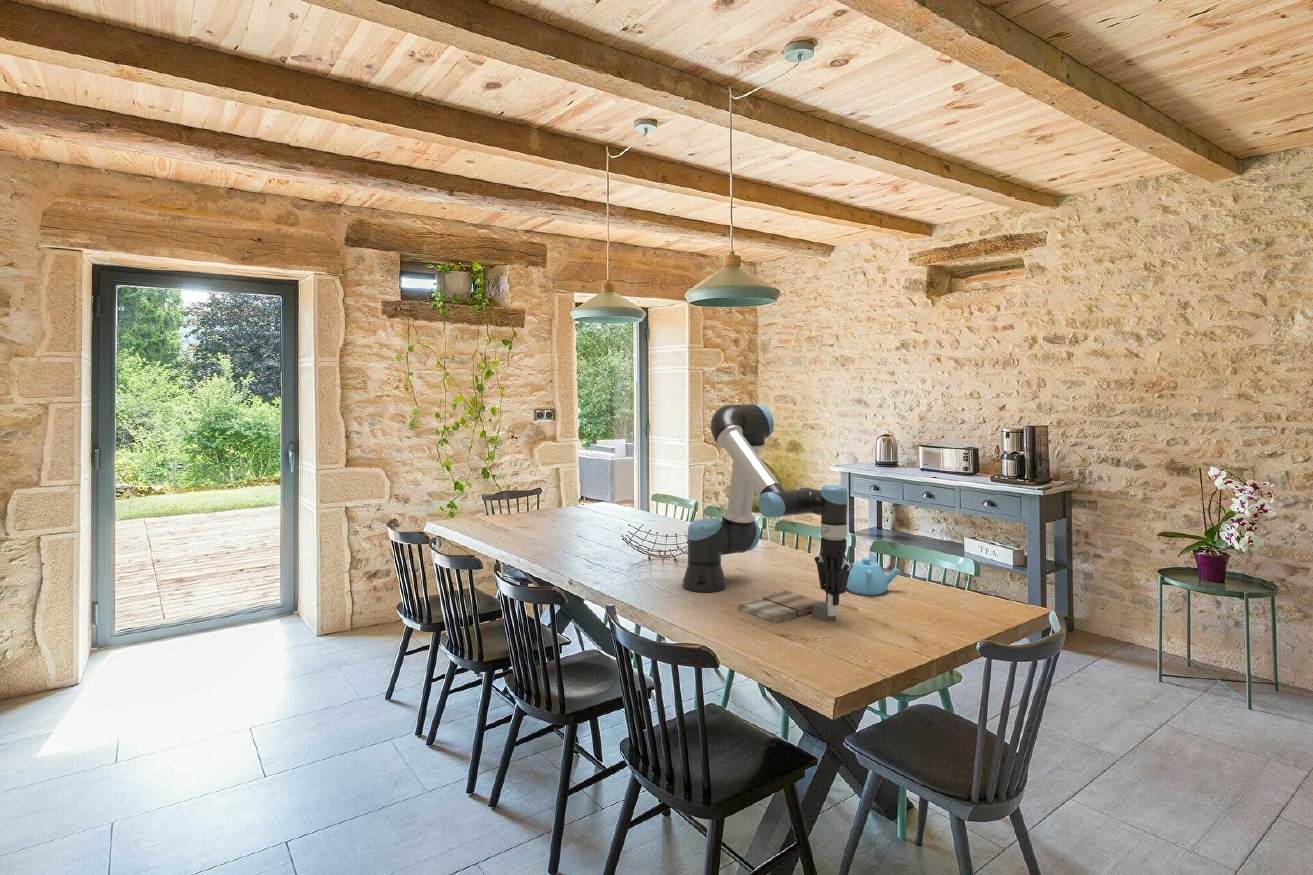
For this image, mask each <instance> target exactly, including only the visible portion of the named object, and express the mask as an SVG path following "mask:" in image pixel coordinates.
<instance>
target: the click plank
mask: <svg viewBox="0 0 1313 875" xmlns="http://www.w3.org/2000/svg"><path fill="white" fill-rule="evenodd" d="M761 599H764V600H767V601H770V602H773V603H775V604H778V605H781V606H784V607H787V608H790V609H792V610H795V611H796V617H801V616H803V615H807V614H809V613H812V604H815V603H819V602H822V601H820V600H818V599H814V598H811V597H808V596H804V595H802V594H799V593H796V592H792V591H789V590H786V589H783V590H780V591H777V592H773V593H770V594H767V595H765V596H762V598H761Z"/></svg>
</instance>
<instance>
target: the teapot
mask: <svg viewBox="0 0 1313 875" xmlns="http://www.w3.org/2000/svg"><path fill="white" fill-rule="evenodd" d="M871 560H872V559H871V558H868V557H863V558H861V560H858V561H855V562H854V561H853V563H851V564H852V565H853V567H852V569H851V570H850V573H849V577H848V582H847V586H846V590H848V591H849V592H850V593H853V594H854V595H855V594H856V595H861V596H880V595H883V594H884V593H885V592H886V591H887V590H888V587H889V584H890V583H891V582H892V581H893V580H894V579H895V578H896V577H897V576H898V575H899V574H900V573H901V572H902V571H901V570H900V569H899V568H898V567H896V566H894V568H893V569H892V570H891V571H890V572H889V573H888V574H887V575H886V574H885V571H884V570H883V568H882V566H881V565H880V563H878V562H875V561H871Z"/></svg>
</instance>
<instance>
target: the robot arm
mask: <svg viewBox="0 0 1313 875" xmlns="http://www.w3.org/2000/svg"><path fill="white" fill-rule="evenodd" d="M774 427H775V422H774V417H773V414H772V413H771V411H770V409H769V408H768V407H767V406H765V405H762V404H753V403H750V404H748V403H747V404H726V405H723V406H721V407H719V408H718V409H717V410H716V411H714V414H713V415H712V417H711V420H710V432H711V435H712V437H713V440H714V442H715V443H716V444H717V445H718V447H719V448H721V449H724V450H725V452H726V453H727V454H728V456H729V457H730V458H731V460H732V468H731V477H730V483H729V484H730V485H729V493H728V501H727V508H726V511H724V512H723V513H722V516H721V517H722V518H721V520H720V519H718V518H714V517H713V518H712V517H709V518H699V519H697V520H693V521H692V522H691V523H690V524H688V529H687V565H686V566H687V567H686V570H685V572H684V576H683V580H682V587H683V588H684V589H685V590H688V591H691V592H696V593H715V592H720V591H724V589H726V587H727V581H726V578H725V574H724V571H723V567H722V556H724V555H725V556H726V555H733V554H743V553H746V552H750V551H752V550H754V549H755V548H756V547H757V545H758V543H759V541H760V536H761V535H760V534H761V531H760V529H759V528H760V527H759V524H758V522H757V521H756V517H755V515H754V514H752V510H753V503H754V502H753V501H754V495H755V493H756V495H757V496H758V500H757V507H758V508H759V513H760V514H761V515H762V516H763V517H765V518H780V517H788V516H796V515H799V516H800V515H806V514H812V515H813V514H814V515H818V516H820V536H821V538H820V550H821V553H820V555H818V556H815V557H814V562H815V564H816V568H817V574H818V579H819V587H820V589H821V590H823V591H825V599H826V600H825V602H826V603H828V608H827V615H829V616H834V615H836V616H837V615H838V606H839V605H840V595H843V594H845V593H846V590H847V588H846V586H847V582H848V577H849V573H850V570H851V569H852V567H853V565H852V564H853V563H849V562H848V561H847V556H846V551H847V543H848V542H847V537H848V527H847V526H848V503H849V499H848V490H847V488H846V487H845V486H843V485H836V484H835V485H834V484H825V485H823V486H822V487H821V490H820V489H815V488H811V487H804V486H803V487H801V486H800V487H797V488H795V489H794V490H790V489H789V490H785V488H784V487H783V486H782V485H781V484H780V483H779V481H778V480H777V479H776V477H775V476H774V474H773V473H772V471H771V470H770V469H769V468H768V467H767V465H766V464H765V463H764V460H762V459H761V457H760V456H759V454H760V449H761V448H763V447H764V446H765V444H766V442H765V441H766V439H768V438H769V437H770V436H772V434H773V433H774Z"/></svg>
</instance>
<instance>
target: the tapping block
mask: <svg viewBox="0 0 1313 875" xmlns="http://www.w3.org/2000/svg"><path fill="white" fill-rule="evenodd" d="M827 608H828V603H826V601H821V602H819V603H815V604H812V612H811V614H812V615H811V616H812V617H813V618H815V619H818V620H820V621H823V622H827V621H830V620H833V619H837V615H834V616H829V615H827Z"/></svg>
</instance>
